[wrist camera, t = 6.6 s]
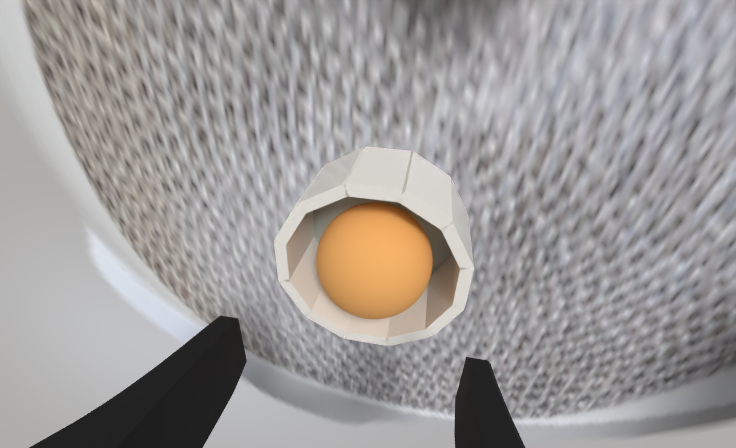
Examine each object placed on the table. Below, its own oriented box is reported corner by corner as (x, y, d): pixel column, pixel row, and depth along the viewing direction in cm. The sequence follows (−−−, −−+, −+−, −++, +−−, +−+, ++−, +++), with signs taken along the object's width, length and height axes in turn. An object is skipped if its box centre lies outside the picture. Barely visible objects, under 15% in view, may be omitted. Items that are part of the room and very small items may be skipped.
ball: (440, 189, 17) (440, 253, 12) (427, 276, 19) (423, 354, 15) (331, 177, 17) (296, 235, 13) (333, 263, 20) (303, 334, 16)
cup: (480, 157, 16) (489, 199, 13) (452, 297, 20) (453, 356, 17) (301, 140, 17) (266, 175, 14) (309, 276, 21) (284, 328, 18)
